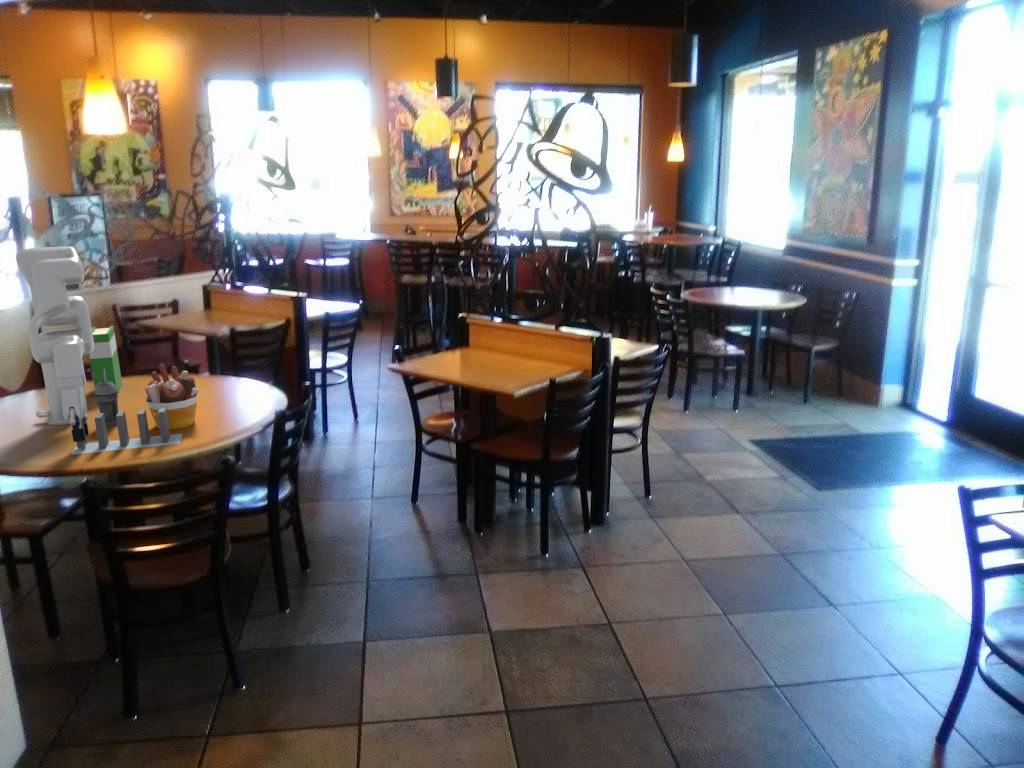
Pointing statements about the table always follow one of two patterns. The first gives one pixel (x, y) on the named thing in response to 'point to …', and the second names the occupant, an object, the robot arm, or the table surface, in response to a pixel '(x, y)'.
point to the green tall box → (105, 357)
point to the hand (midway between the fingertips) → (81, 437)
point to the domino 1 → (83, 443)
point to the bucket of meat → (173, 398)
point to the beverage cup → (107, 401)
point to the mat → (132, 444)
